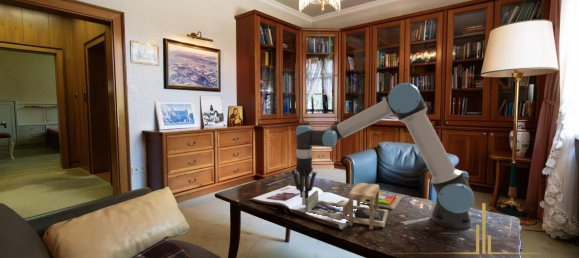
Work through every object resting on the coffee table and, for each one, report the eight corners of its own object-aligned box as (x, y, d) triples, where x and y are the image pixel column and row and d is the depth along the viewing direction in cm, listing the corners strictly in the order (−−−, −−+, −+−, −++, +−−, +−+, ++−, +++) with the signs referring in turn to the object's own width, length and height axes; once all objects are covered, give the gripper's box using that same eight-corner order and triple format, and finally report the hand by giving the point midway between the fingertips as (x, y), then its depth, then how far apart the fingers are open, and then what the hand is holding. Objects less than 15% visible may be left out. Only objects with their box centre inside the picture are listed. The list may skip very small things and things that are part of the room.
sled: (387, 214, 129) (387, 199, 128) (384, 227, 116) (384, 210, 115) (316, 203, 144) (316, 190, 143) (305, 214, 130) (305, 199, 130)
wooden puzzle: (358, 204, 147) (358, 197, 146) (370, 194, 162) (370, 188, 162) (392, 211, 137) (393, 204, 136) (402, 200, 152) (402, 193, 152)
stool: (378, 213, 133) (379, 184, 131) (372, 229, 116) (373, 196, 115) (357, 210, 137) (357, 182, 135) (348, 225, 120) (349, 193, 119)
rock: (384, 224, 121) (384, 210, 121) (360, 226, 119) (360, 212, 119) (374, 216, 130) (374, 204, 130) (351, 218, 128) (352, 205, 128)
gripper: (319, 156, 137) (319, 203, 139) (294, 155, 142) (295, 200, 144) (314, 159, 130) (314, 208, 132) (288, 157, 136) (289, 204, 138)
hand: (304, 204), depth 138 cm, fingers closed
